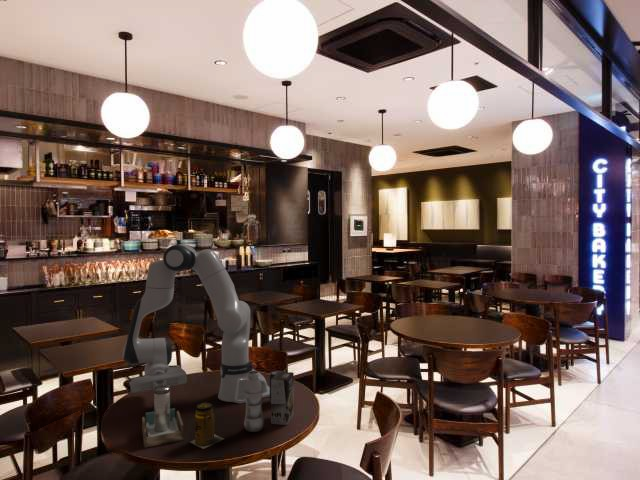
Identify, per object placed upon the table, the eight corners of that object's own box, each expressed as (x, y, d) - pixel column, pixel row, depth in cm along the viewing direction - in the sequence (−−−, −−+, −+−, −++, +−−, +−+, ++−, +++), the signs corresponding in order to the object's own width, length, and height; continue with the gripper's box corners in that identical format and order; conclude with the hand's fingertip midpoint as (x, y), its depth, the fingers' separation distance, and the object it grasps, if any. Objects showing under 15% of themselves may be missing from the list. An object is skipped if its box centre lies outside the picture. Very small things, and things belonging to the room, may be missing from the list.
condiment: (189, 442, 142) (189, 405, 142) (211, 433, 148) (211, 398, 148) (202, 449, 137) (202, 411, 137) (224, 439, 144) (224, 403, 143)
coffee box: (287, 425, 154) (287, 380, 154) (270, 424, 155) (270, 379, 155) (294, 414, 163) (294, 372, 163) (277, 413, 164) (277, 371, 164)
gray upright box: (283, 406, 171) (283, 375, 171) (266, 404, 173) (266, 374, 173) (289, 399, 178) (289, 370, 177) (273, 398, 180) (273, 369, 179)
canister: (169, 424, 151) (169, 384, 150) (170, 430, 146) (170, 389, 146) (153, 426, 149) (153, 386, 148) (154, 433, 144) (154, 391, 144)
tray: (174, 423, 155) (174, 408, 155) (179, 438, 144) (179, 422, 144) (145, 428, 151) (145, 412, 151) (148, 444, 140) (147, 427, 139)
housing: (178, 424, 155) (178, 410, 155) (183, 440, 143) (183, 424, 143) (142, 431, 150) (142, 416, 150) (144, 447, 138) (144, 432, 138)
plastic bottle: (255, 436, 146) (254, 376, 145) (240, 431, 149) (239, 373, 149) (267, 428, 151) (267, 371, 151) (252, 424, 155) (252, 368, 155)
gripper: (128, 373, 168) (129, 384, 155) (183, 364, 176) (188, 373, 164) (129, 389, 168) (130, 401, 155) (184, 379, 177) (189, 390, 164)
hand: (160, 387), depth 160 cm, fingers closed
